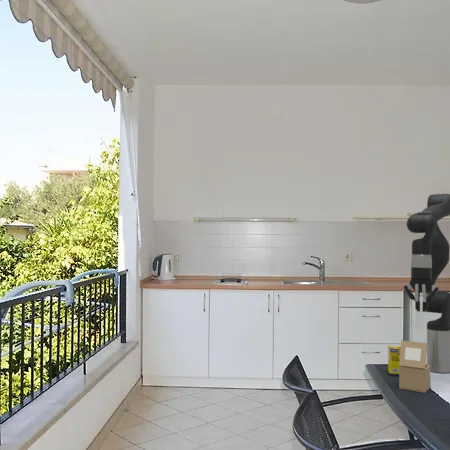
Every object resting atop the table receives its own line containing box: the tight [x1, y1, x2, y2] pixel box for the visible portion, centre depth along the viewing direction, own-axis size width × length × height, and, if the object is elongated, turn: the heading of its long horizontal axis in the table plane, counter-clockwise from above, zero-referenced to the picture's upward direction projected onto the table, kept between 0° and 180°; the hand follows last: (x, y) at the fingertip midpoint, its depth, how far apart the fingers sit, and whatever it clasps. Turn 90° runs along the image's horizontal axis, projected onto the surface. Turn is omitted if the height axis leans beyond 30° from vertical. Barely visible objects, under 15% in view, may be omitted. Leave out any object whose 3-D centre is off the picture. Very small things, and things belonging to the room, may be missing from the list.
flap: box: [399, 340, 427, 369], centre depth 189 cm, size 9×9×1 cm
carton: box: [398, 364, 431, 394], centre depth 192 cm, size 9×9×8 cm
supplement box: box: [387, 345, 401, 377], centre depth 212 cm, size 6×6×11 cm
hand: (421, 311), depth 201 cm, fingers closed
